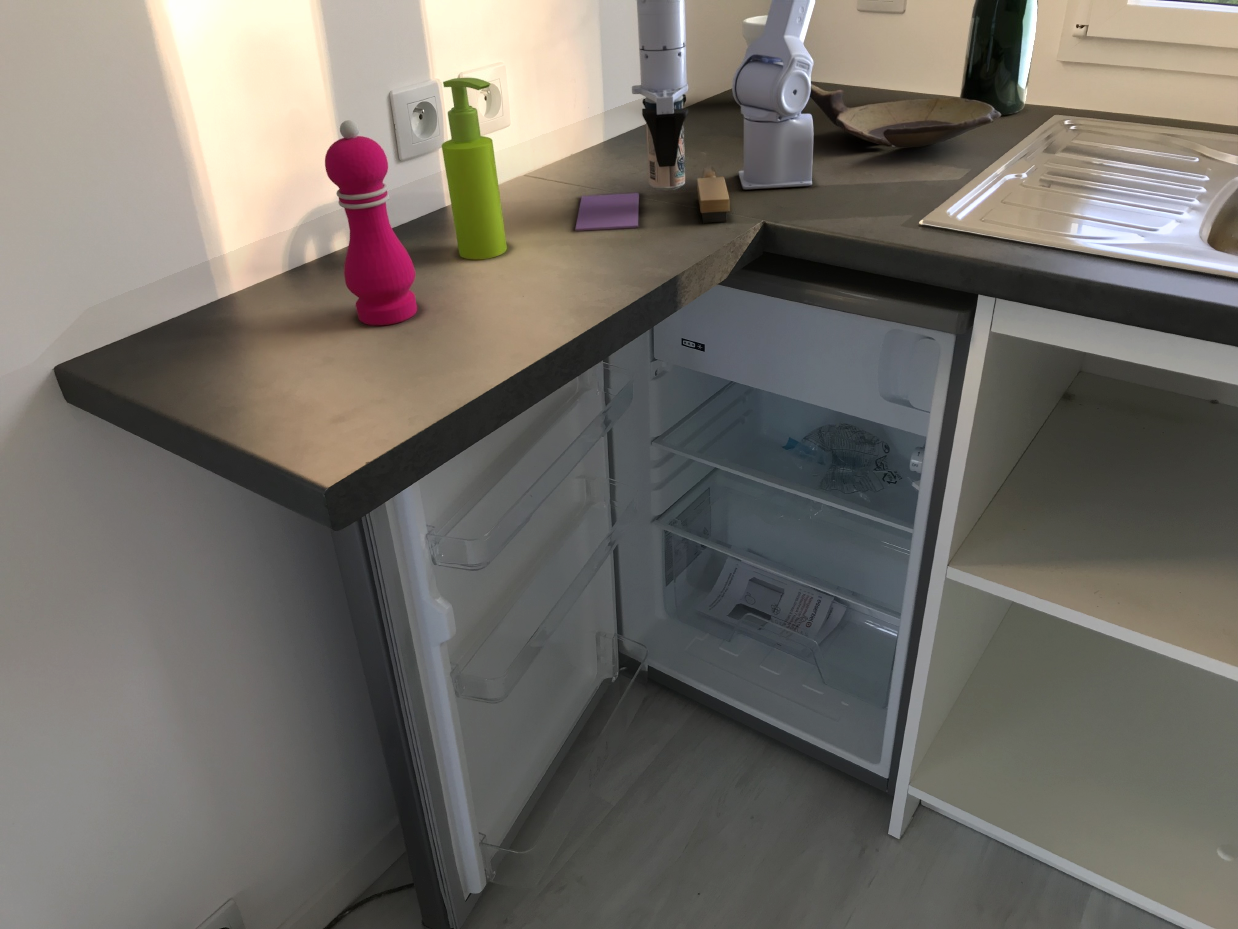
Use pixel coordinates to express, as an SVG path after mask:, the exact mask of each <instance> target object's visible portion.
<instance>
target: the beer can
mask: <svg viewBox="0 0 1238 929" xmlns="http://www.w3.org/2000/svg"><path fill="white" fill-rule="evenodd" d="M644 99H645V107H644V108H657V104H656V102H655V101H653V100H651V99H649V98H647V97H644ZM673 106H674V109H684V107H683V96H680V97H679V98H677V99H676V100H675V101H674V102H673ZM645 126H646V127H645V128H646V146H647V148H646V149H647V171H648V172H647V173H648V185H649V186H651V187H652V188H653V189H655V190H656V191H663V192H664V191H665V192H666V191H674V190H678V189H680V188H681V187H682V186H684V185H685V184H686V160H685V159H686V157H685V153H686V152H685V122H684V123H683V126H682V129H681V133H680V138H679V145H678V153H677V159H676V164H675V166H667V167H659V165H658V162H657V158H656V154H655V149H654V144H653V139H652V136H651V133H650V130H649V127H648V125H647V123H646V122H645Z"/></svg>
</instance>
